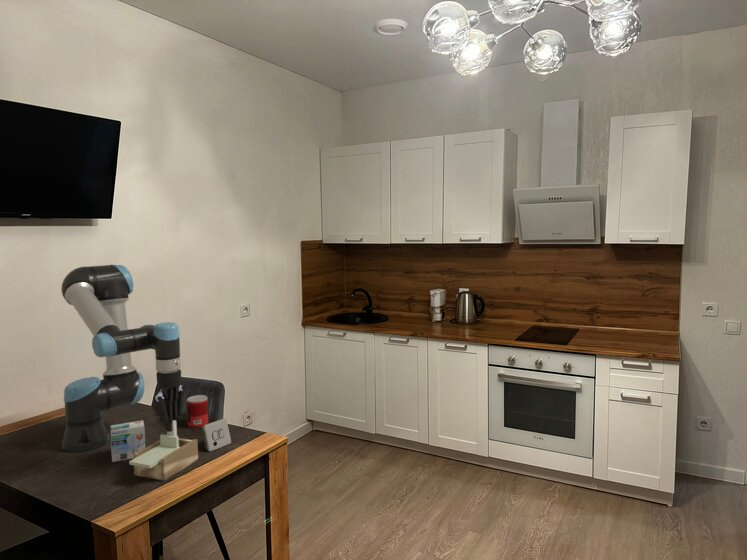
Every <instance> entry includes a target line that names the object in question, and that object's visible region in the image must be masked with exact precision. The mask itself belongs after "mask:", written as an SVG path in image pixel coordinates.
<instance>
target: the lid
mask: <svg viewBox="0 0 747 560" xmlns="http://www.w3.org/2000/svg"><path fill="white" fill-rule="evenodd" d="M159 438H160V439H159V440H160V443H161V444H160V445H158V446H156V447H155V448H153V449H151V450H149V451H147V452H146V453H144V454H142V455H140V456H138V457H136V458H135V459H133V458H132V459H131V460H129V462H128V463H129V465H130V466H133V467H134V466H140V467H145V468H152V467H153V466H155V465H157V464H158V463H160V462H161V458H163V457H165V456H166V455H168V454H170V453H171V452H173V451H175V450H177V449H178V448H180V447H179V435H177V436H172V435H167V433H166V434H165V433H162V434H160V435H159Z"/></svg>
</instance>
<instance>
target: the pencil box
mask: <svg viewBox="0 0 747 560" xmlns="http://www.w3.org/2000/svg"><path fill="white" fill-rule="evenodd" d="M198 443H199V442H198V438H197V439H196V438H194V439H189V438H187V439H186V438H179V447H180V448H178V449H177V450H175V451H173V452H171V453H170V454H168V455H166V456H165V457H163V458H161V462H160V463H158V464H157V465H155V466H153V467H152V468H145V467H140V466H134V465H133V474H134V476H138V477H142V478H147V479H152V480H158V481H162V482H165V481H167V480H169V479H170V478H172V477H173V476H174V475H176V474H178V473H179V472H182V470H185V469H186V468H187V467H189V466H191V465H192V464H194V463H195V462H197V461H198V460H199V448H198V445H199V444H198ZM160 444H161V443H160V439H159V440H157V441H154V442H153V443H151V444H150V445H147V446H145V448H144V449H142V450H140V451H138V452H136V453H134V454H133V458H132V460H133V459H135V458H136V457H138V456H140V455H142V454H144V453H146V452H147V451H149V450H151V449H153V448H155V447H156V446H158V445H160Z"/></svg>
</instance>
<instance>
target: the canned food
mask: <svg viewBox="0 0 747 560" xmlns="http://www.w3.org/2000/svg"><path fill="white" fill-rule="evenodd" d="M208 399H209V398H208V396H207V395H205V394H197V395H193V396H192V395H191V396H190V397H188V398H187V399H186V412H187V413H186V414H187V426H188V428H190V429H199V428H200V429H201V427H204V425H206V424H209V423H210V421H209V420H210V419H209V400H208Z"/></svg>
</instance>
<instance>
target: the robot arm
mask: <svg viewBox="0 0 747 560" xmlns="http://www.w3.org/2000/svg"><path fill="white" fill-rule="evenodd" d="M60 289H61V293H62V294H61V295H62V297H63V299H64V300H65V302H66V303H67V304H68V305H71V306H73V308H74V310H75V311H76V312H77V313H78V315H79V316H80V318H81V320H82V321H83V322H84V324H85V326H86V327H87V329H88V330H89V331H90V333H91V334H92V335H93V337H92V340H91V346H92V350H93V353H94V355H95V356H96V357H97V358H105V363H106V369H105V371H104V372H103V373H102V377H103V379H100V378H99V377H97V376H90V377H84V378H79V379H76V380H74V381H72V382H70V383H68V384H67V385H65V388H64V390H63V402H64V413H65V415H64V416H65V429H64V430H65V431H64V434H63V438H62V440H61V449H62V450H63V451H66V452H71V453H75V452H76V453H77V452H87V451H91V450H93V449H97V448H100V447H102V446H104V445H106V444H108V442H109V441H110V434H109V431H108V430H107V427H106V425H105V422H104V420H103V412H107V411H110V410H111V411H112V410H114V409H118V408H122V407H129V406H131V405H133V404H137V403H139V402H140V401H141V400H142V399H143V397H144V394H145V393H144V392H145V380H144V378H143V377H144V376H143V374H142V373H141V372H138V371H137V368H136V367H135V366H133V365H132V356H131V353H134V352H140V351H146V350H151V349H152V350H153V351H154V352H155V353H154V354H155V371H156V375H155V376H156V383H157V384H158V385H159V387H158V393H157V395H154V396H152V399H153V400H154V402H155V405H156V408H157V411H158V412H157V413H158V417H159V421H160V422H162V423H165V431H166V435H172V436H178V429H177V428H178V420H180V419H181V417H180V416H182V413H183V405H184V404H183V403H184V393H185V390H186V388H187V387H186V386H185V385H181V381H182V370H181V367H182V366H181V349H180V347H181V345H180V343H181V341H180V331H179V325H178V323H177V322H168V321H167V322H159V323H156V324H155V325H154V324H143V325H142V326H140V327H138V328H132V329H129V328H128V320H127V311H126V303H127V302H128V300H129V295H130V294H132V293H133V291H134V280H133V277H132V274H131V272H130V270H129V269H128V268H127V267H126V266H125V265H122V264H106V265H92V266H91V265H90V266H79V267H76V268H75V269H72V270H71V271H70V272H68V274H66V276H65V277H64V278H63V281H62V283H61V288H60Z"/></svg>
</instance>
